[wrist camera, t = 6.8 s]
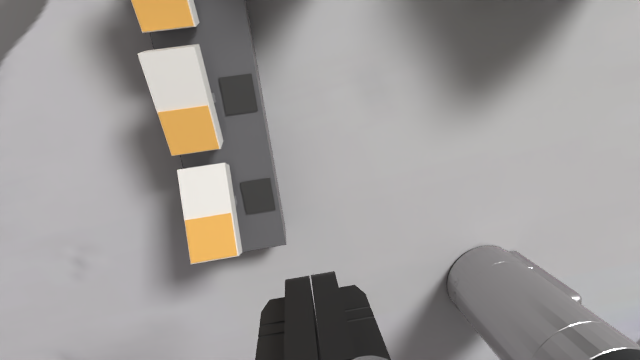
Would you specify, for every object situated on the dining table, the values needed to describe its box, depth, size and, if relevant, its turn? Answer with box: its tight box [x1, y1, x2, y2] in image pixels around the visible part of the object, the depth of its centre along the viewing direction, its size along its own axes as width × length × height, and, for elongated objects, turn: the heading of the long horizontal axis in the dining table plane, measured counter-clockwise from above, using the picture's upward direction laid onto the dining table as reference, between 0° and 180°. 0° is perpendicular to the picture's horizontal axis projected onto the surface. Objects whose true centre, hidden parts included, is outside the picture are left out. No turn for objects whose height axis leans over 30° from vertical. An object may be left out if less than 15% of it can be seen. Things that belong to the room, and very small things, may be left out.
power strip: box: [150, 0, 286, 252], centre depth 31 cm, size 8×30×5 cm, turn 8°
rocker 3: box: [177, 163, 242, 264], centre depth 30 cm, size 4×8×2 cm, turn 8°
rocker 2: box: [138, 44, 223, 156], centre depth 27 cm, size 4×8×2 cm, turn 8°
